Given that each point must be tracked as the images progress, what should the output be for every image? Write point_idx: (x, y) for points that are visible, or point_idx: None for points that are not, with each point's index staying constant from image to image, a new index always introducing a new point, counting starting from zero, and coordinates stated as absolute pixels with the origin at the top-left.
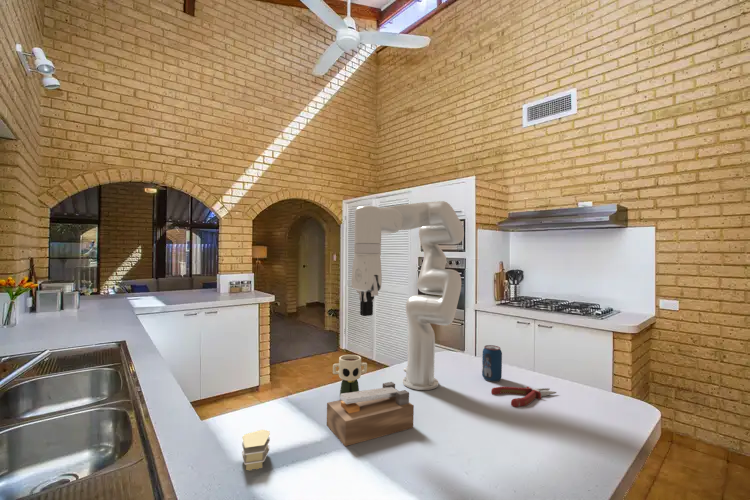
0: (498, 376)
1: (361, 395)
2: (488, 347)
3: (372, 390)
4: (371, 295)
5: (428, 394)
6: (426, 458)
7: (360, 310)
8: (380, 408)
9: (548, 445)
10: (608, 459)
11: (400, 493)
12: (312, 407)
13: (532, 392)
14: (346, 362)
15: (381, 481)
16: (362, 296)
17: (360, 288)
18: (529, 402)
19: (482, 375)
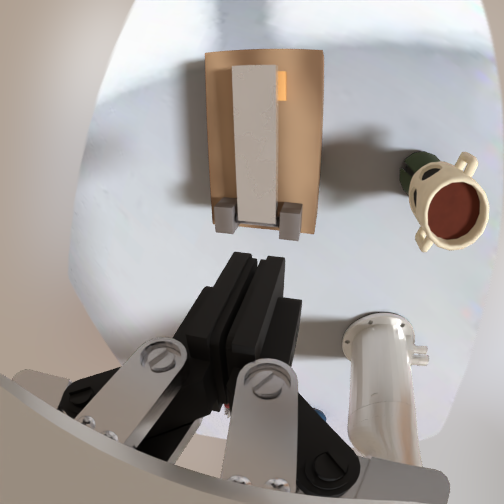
0: None
1: (244, 114)
2: None
3: (268, 161)
4: (57, 386)
5: (331, 320)
6: (142, 165)
7: (271, 276)
8: (228, 150)
9: (130, 312)
10: (103, 325)
11: (98, 94)
12: (424, 74)
13: (228, 403)
14: (437, 182)
15: (122, 79)
16: (236, 412)
17: (32, 434)
18: None
19: (320, 413)
